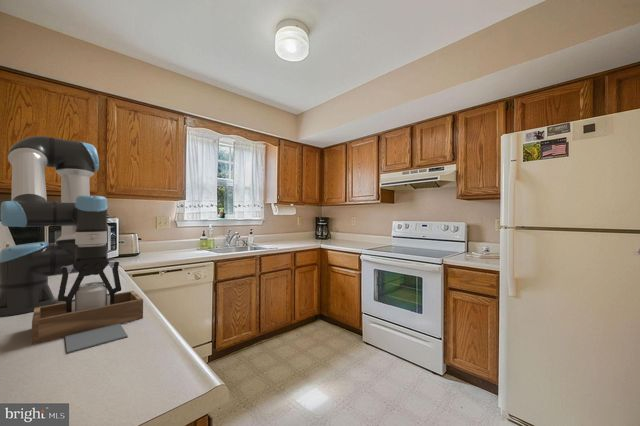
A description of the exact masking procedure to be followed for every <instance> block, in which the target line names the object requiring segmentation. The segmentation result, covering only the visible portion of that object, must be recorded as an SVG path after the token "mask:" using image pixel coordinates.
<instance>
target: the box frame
mask: <svg viewBox="0 0 640 426" xmlns="http://www.w3.org/2000/svg"><path fill="white" fill-rule="evenodd" d="M32 314H33V315H32V320H31V345H36V344H41V343H45V342H49V341H52V340H56V339H61V338H65V336H68V335H72V334H76V333H81V332H85V331H89V330H93V329H97V328H102V327H106V326H110V325H114V324H118V323H120V324H124V323H129V322H133V321H136V320H141V319H144V298H143V297H141V296H140V295H139V294H138V293H136V292H135V291H134V290H131V291H130V290H129V291H125V292H119V293H118V292H117V293H115V294H114V304H110V305H108V306H103V307H97V308H92V309H87V310H82V311H77V312H72V313H71V312H69V313H67V312H66V302H65V301H64V302H62V303H60V302H59V303H54V304H53V305H48V306H42V307H36V308H34V311H33V312H32Z"/></svg>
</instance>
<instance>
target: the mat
mask: <svg viewBox="0 0 640 426" xmlns="http://www.w3.org/2000/svg"><path fill="white" fill-rule="evenodd" d="M121 324H122V323H118V324H114V325H110V326H106V327H102V328H97V329H93V330H89V331H85V332H81V333H76V334H72V335H68V336H65V337H64V339H65V349H66V355H67V354H71V353H74V352H78V351H82V350H85V349H86V350H87V349H89V348H93V347H97V346H101V345H105V344H108V343H111V342H115V341H118V340H122V339H125V338H128V337H129V336H128V333H127V332H126V331H125V329H124V328H123V326H122V325H121Z"/></svg>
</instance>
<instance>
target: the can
mask: <svg viewBox="0 0 640 426" xmlns="http://www.w3.org/2000/svg"><path fill="white" fill-rule="evenodd" d="M107 294H108V290H107V288H106V286H105V284H104V282H103V281H91V282H85V283H82V284H80V285H79V287H78V289H77V291H76V293H75V295H74V299H75V312H77V311H82V310H87V309H92V308H97V307H103V306H107Z"/></svg>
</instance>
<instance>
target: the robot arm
mask: <svg viewBox="0 0 640 426" xmlns="http://www.w3.org/2000/svg"><path fill="white" fill-rule="evenodd" d="M7 161H8V163H10V165H11V196H10V197H11V199H10V200H7V201H6V200H4V201H2V202H1V203H0V224H1V225H2V226H4V227H8V228H9V227H14V228H15V227H16V228H17V227H18V228H29V227H30V228H31V227H33V228H34V227H61V236H60V237H58V238H57V239H56V240H55V244H52V245H50V244H49V242H47V241H38V242H31V243H22V244H16V245H11V246H7V247H4V248H2V249H1V250H0V317H4V316H5V317H6V316H15V315H21V314H27V313H31V312H32V313H33V312H34V308H36V307H42V306H48V305H54V304H55V296H54V294H53V291H52V289H51V287H50V285H49V277H53V276H61V279H60V285H59V290H58V294H57V301H58V302H64V303H65V302H66V312H67V313H69V312H71V313H72V312H75V293H76V291H77V289H78V287H79V285H81V283H82V281H83V280H84V278H85V277H88V276H96V275H97V276H99V277H100V279H101V282H104V285H105V286H106V288H107V306H108V305H110V304H114V294H117V293H118V292H121V291H122V285H121V279H120V274H119V266H120V262H119V261H117V260H114V261H113V260H112V261H111V260H109V259H108V246H107V243H108V209H109V206H108V198H107V197H105V196H101V195H91V193H90V192H91V191H90V188H91V187H90V186H91V185H90V178H92V177H93V176H95V172H98V171H99V167H100V161H99V154H98V151H97V148H96V147H95V146H94V145H93V144H91V143H87V142H82V141H80V140H78V141H76V140H70V139H64V138H58V137H57V138H56V137H51V136H44V135H36V136H29V137H26V138H23V139H20V140H19V141H17V142H15V143H14V144H13V145H12V146H11V147H10V148H9V150H8V153H7ZM46 167H48V168H49V167H50V168H55V173H56V174H57V175H59V176H60V186H61V187H60V193H61V195H60V196H61V197H60V199H61V201H60V202H59V201H56V202H55V201H48V198H47V197H48V196H47V185H46V173H45V172H46V171H45V168H46ZM108 265H109V267H110V268H111V270H112V276H113V281H114V288H113V287H112V285H111V283H110V280H108V277H107V276H106V274H105V272H104V270H105V269H106V268H107V266H108ZM71 274H77V276H76V278H75V280H74V282H73V284H72V286H71V288H70V289H69V292H68V294H67V295H66V289H67V284H68V279H69V275H71ZM73 298H74V299H73Z"/></svg>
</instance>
